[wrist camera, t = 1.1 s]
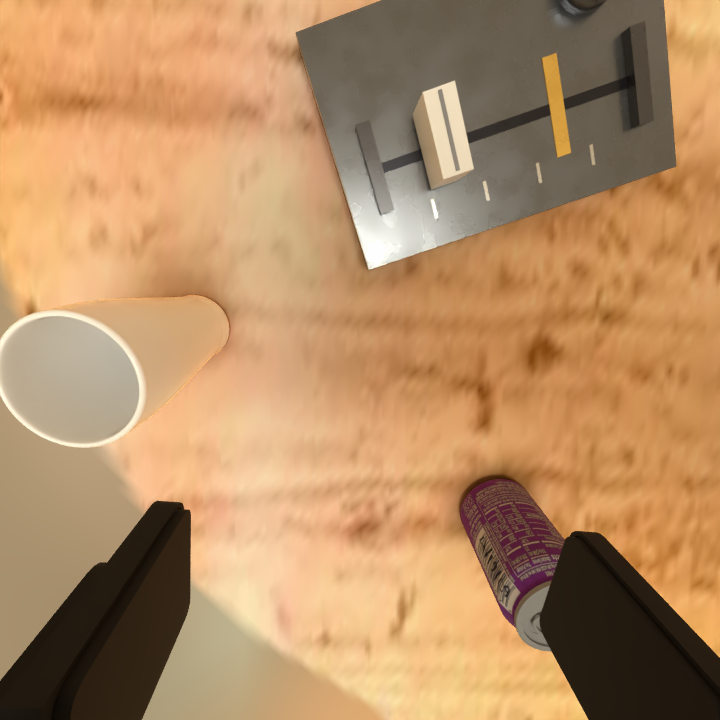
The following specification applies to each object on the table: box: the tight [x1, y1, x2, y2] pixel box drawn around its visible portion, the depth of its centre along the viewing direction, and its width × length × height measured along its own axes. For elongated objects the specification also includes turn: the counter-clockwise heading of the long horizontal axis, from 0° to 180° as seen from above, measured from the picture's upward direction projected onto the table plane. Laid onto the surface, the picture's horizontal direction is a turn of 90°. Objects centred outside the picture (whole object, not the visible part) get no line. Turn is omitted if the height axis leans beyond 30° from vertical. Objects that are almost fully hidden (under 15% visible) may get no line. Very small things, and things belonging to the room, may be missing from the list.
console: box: [296, 0, 676, 270], centre depth 26 cm, size 24×16×3 cm, turn 108°
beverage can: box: [460, 479, 565, 651], centre depth 31 cm, size 7×7×12 cm
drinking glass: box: [0, 295, 229, 448], centre depth 23 cm, size 7×7×15 cm
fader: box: [413, 81, 474, 190], centre depth 24 cm, size 2×5×4 cm, turn 18°
